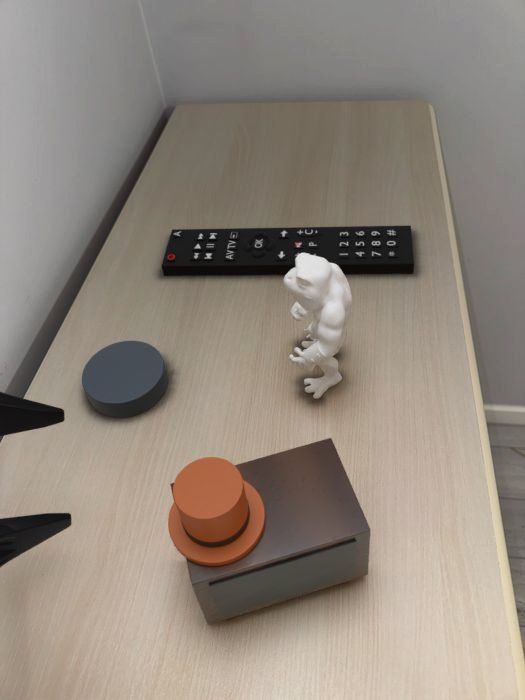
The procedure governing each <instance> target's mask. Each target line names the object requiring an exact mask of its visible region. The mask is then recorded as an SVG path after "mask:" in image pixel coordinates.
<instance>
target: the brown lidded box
mask: <svg viewBox="0 0 525 700" xmlns="http://www.w3.org/2000/svg"><path fill="white" fill-rule="evenodd" d="M234 465H235V466H236V467H237V469H238V470H239V472H240V473H241V476H242V479H243V480H244V481H246V482H248V483H249V484H250V485H252V486H253V487H254V488H255V489H256V491H257V492H258V493H259V495H260V497H261V499H262V501H263V504H264V508H265V516H266V518H265V526H264V530H263V533H262V535H261V537H260V539H259V541H258V542H257V544H256V545H255V546H254V548H253V549H252V550H251V551H250V552H249V553H247V554H246V555H245V556H243V557H242V558H240V559H238V560H236V561H234V562H232V563H229V564H225V565H219V566H206V565H201V564H197V563H195V562H192V561H190V560H189V559H187V558H185V560H186V566H187V571H188V575H189V580H190V585H191V588H192V590H193V592H194V594H195V597H196V599H197V602H198V604H199V607H200V610H201V612H202V615H203V617H204V619H205V622H206V624H207V625H208V626H209V625H212V624H215V623H219V622H222V621H225V620H229V619H231V618H236V617H238V616H241V615H245V614H247V613H251V612H254V611H257V610H260V609H263V608H267V607H270V606H273V605H276V604H279V603H282V602H283V603H284V602H286V601H289V600H292V599H295V598H298V597H302V596H305V595H308V594H312V593H315V592H319V591H321V590H324V589H328V588H330V587H334V586H337V585H340V584H344V583H346V582H351V581H353V580H357V579H360V578H362V577H367V576H368V575H369V566H370V565H369V564H370V546H371V528H370V525H369V522H368V520H367V518H366V516H365V514H364V511H363V509H362V507H361V503H360V501H359V500H358V497H357V495H356V493H355V490H354V488H353V485H352V483H351V481H350V478H349V476H348V474H347V471H346V469H345V467H344V464H343V462H342V459H341V456H340V455H339V453H338V449H337V448H336V446H335V443H334V441H333V439H332V437H328V438H325V439H322V440H318V441H314V442H311V443H307V444H303V445H299V446H297V447H294V448H293V447H292V448H290V449H286V450H283V451H280V452H276V453H273V454H269V455H264V456H262V457H259V458H255V459H253V460H252V459H251V460H248V461H245V462H244V461H243V462H241V463H237V464H234ZM173 485H174V482H171V483H170V489H171V494H172V496H173ZM172 499H173V500H174V498H173V497H172Z"/></svg>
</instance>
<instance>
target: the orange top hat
mask: <svg viewBox="0 0 525 700" xmlns="http://www.w3.org/2000/svg"><path fill="white" fill-rule="evenodd" d="M235 465H236V464H233V463H232V462H231V461H229V460H227V459H224V458H221V457H218V456H217V457H216V456H208V457H206V456H205V457H201V458H199V459H196V460H193V461H191V462H189V463H188V464H187V465H185V466H184V467H183V468H182V469H181V470H180V471H179V473H178V474H177V475H176V477H175V480H174V482H173V483H174V485H173V495H172V499H173V498H174V499H173V503H172V505H171V507H170V510H169V512H168V518H167V526H168V527H167V528H168V533H169V537H170V539H171V541H172V544H173V546H174V548H175V549H176V550H177V551H178V552H179V553H180V555H182V557H184V558H185V559H186V558H187V559H189V560H190V561H192V562H195V563H197V564H201V565H206V566H219V565H225V564H229V563H232V562H234V561H236V560H238V559H240V558H242V557H243V556H245V555H246V554H247V553H249V552H250V551H251V550H252V549H253V548H254V546H255V545H256V544H257V542H258V541H259V539H260V537H261V535H262V533H263V530H264V526H265V518H266V516H265V508H264V504H263V501H262V499H261V497H260V495H259V493H258V492H257V491H256V489H255V488H254V487H253V486H252V485H250V484H249V483H248V482H246V481H244V480H243V479H242V476H241V473H240V472H239V470H238V469H237V467H236V466H235Z"/></svg>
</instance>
